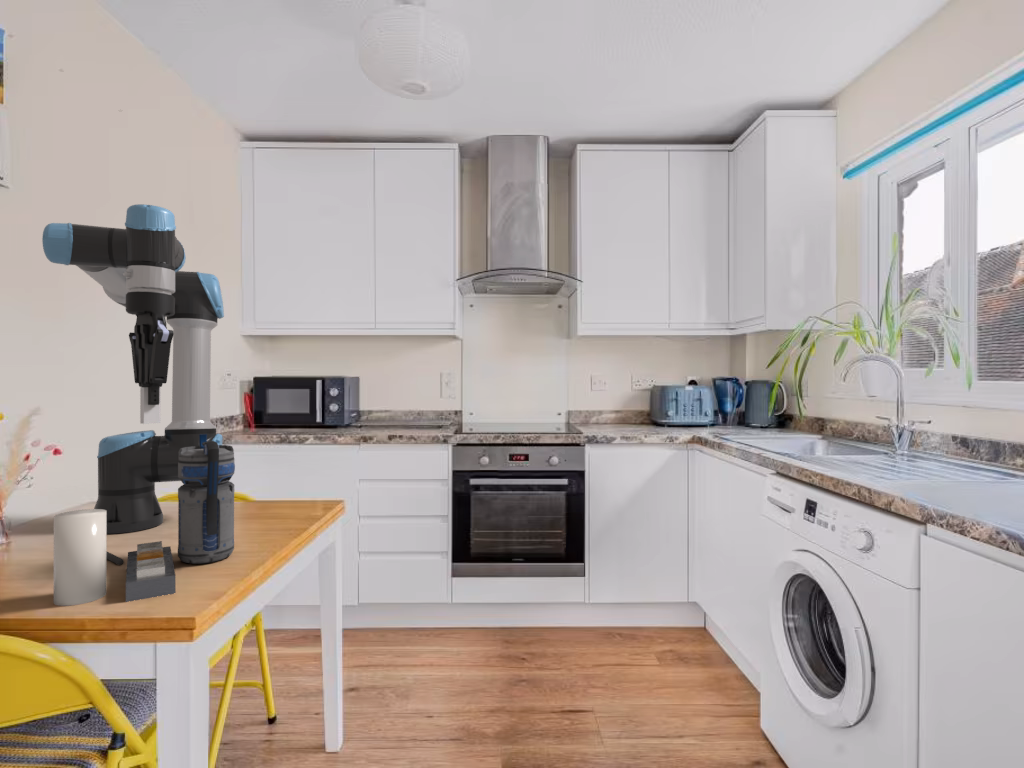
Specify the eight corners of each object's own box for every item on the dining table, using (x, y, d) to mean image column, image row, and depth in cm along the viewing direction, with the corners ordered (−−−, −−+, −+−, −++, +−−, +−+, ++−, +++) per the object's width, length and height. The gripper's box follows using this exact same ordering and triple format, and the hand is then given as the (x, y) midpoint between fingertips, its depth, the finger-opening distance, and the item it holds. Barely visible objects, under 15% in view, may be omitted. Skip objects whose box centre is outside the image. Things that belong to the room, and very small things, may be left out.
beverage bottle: (183, 573, 106) (183, 440, 106) (173, 555, 117) (174, 435, 117) (241, 562, 113) (242, 437, 112) (227, 547, 123) (228, 432, 123)
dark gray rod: (96, 555, 117) (96, 549, 117) (103, 553, 118) (103, 548, 118) (117, 566, 110) (117, 559, 110) (124, 564, 111) (124, 558, 111)
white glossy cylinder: (47, 599, 93) (47, 514, 93) (97, 586, 99) (97, 507, 99) (61, 609, 89) (61, 521, 89) (113, 595, 95) (113, 512, 95)
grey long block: (128, 570, 109) (127, 544, 109) (170, 563, 113) (170, 538, 113) (125, 604, 92) (125, 574, 92) (175, 595, 96) (175, 566, 96)
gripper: (112, 293, 103) (112, 422, 103) (142, 286, 96) (142, 426, 96) (157, 298, 109) (157, 420, 109) (189, 292, 102) (188, 423, 102)
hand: (150, 423), depth 102 cm, fingers closed
